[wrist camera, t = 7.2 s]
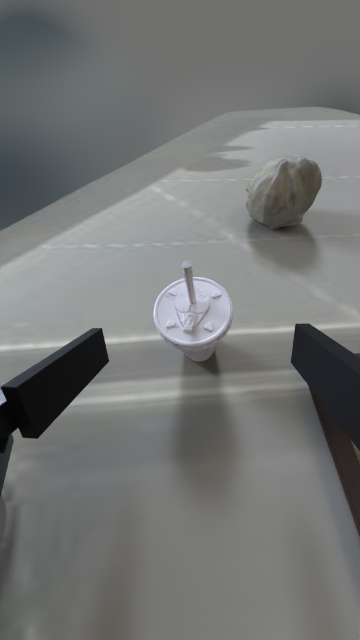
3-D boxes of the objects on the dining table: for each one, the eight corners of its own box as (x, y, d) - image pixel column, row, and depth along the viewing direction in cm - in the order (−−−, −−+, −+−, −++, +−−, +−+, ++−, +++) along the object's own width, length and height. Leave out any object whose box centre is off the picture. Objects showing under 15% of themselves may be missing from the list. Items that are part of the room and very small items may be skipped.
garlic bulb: (295, 234, 32) (355, 177, 23) (256, 251, 30) (306, 195, 21) (264, 192, 34) (309, 122, 24) (226, 205, 32) (259, 133, 22)
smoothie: (226, 325, 24) (243, 232, 12) (223, 376, 22) (240, 325, 9) (177, 321, 26) (146, 233, 13) (169, 369, 23) (119, 316, 10)
